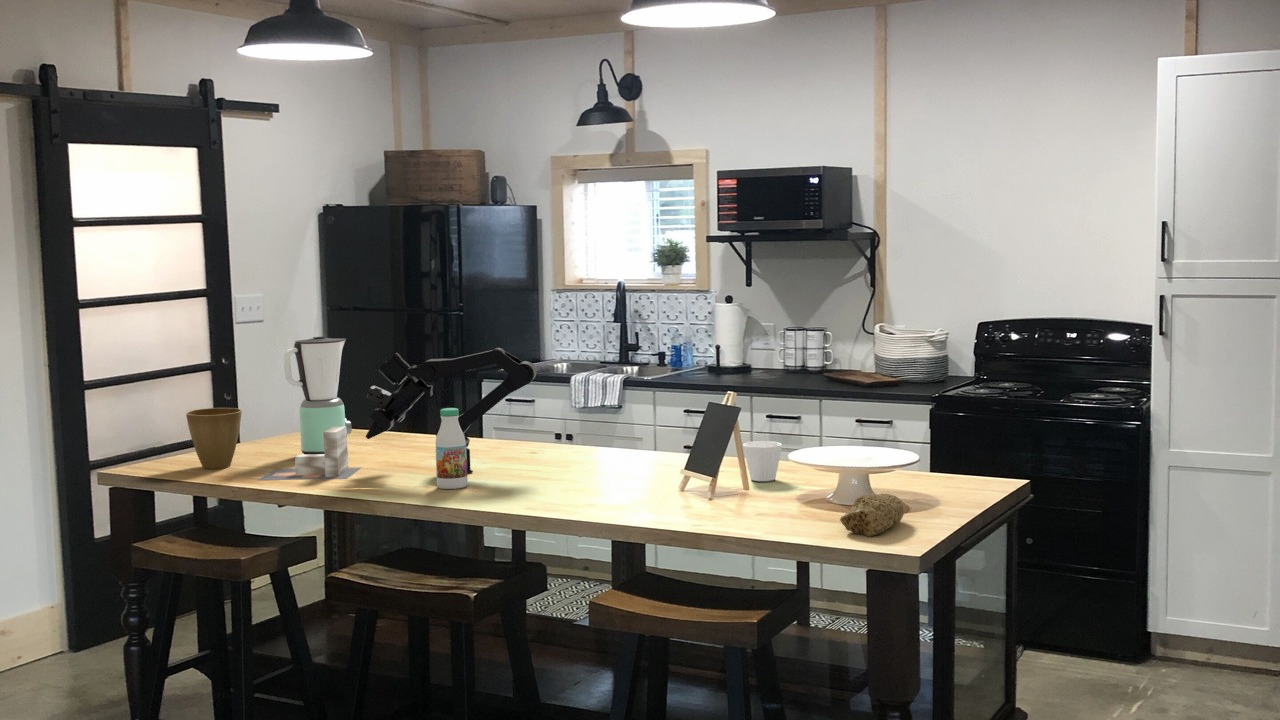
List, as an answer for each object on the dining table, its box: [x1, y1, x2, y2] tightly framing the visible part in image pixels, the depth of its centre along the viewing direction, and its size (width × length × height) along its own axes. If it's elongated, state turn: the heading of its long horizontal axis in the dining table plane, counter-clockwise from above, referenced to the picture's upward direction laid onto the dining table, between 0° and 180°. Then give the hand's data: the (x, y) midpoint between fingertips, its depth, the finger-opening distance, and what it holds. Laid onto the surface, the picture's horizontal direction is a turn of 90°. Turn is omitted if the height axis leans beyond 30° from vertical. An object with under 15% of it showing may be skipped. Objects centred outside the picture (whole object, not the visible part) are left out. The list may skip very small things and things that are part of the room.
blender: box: [283, 336, 353, 455], centre depth 371 cm, size 19×13×35 cm
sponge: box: [839, 493, 905, 537], centre depth 267 cm, size 13×8×20 cm
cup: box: [742, 440, 783, 483], centre depth 319 cm, size 10×10×9 cm
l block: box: [294, 426, 349, 477], centre depth 341 cm, size 12×10×12 cm
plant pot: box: [185, 407, 242, 470], centre depth 357 cm, size 15×15×16 cm
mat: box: [257, 467, 362, 481], centre depth 341 cm, size 24×16×1 cm, turn 88°
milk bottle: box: [435, 407, 469, 490], centre depth 320 cm, size 8×8×20 cm
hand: (367, 437), depth 340 cm, fingers closed
